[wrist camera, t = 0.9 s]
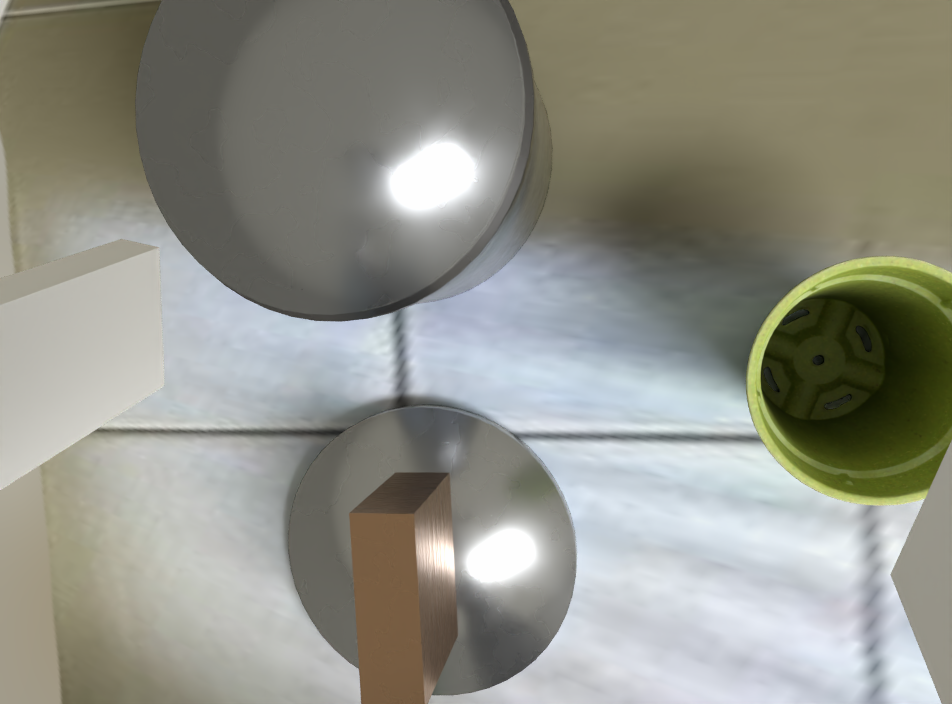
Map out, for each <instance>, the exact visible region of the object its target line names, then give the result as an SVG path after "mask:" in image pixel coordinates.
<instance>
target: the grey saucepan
mask: <svg viewBox="0 0 952 704" xmlns="http://www.w3.org/2000/svg"><path fill="white" fill-rule="evenodd" d="M135 106H136V130H137V137H138V144H139V151H140V156H141V160H142V163H143V167H144V171H145V175H146V178H147V181H148V183H149V186H150V188H151V191H152V194H153V196H154V199H155V201H156V203H157V205H158V207H159V209H160V211H161V213H162V214H163V216H164V218H165V220H166V222H167V224H168V225H169V227H170V228H171V229H172V231H173V232H174V234H175V235H176V237H177V238H178V239H179V241H180V242H181V244H182V245H183V246H184V247H185V248H186V249H187V250H188V252H189V253H190V254H191V255H192V256H193V257H194V258H195V259H196V260H197V261H198V262H199V263H200V264H201V265H202V266H203V267H204V268H205V269H206V270H207V271H209V272H210V273H211V274H212V275H213V276H215V277H216V278H217V279H218V280H219V281H220V282H222V283H223V284H224V285H225V286H227V287H228V288H230V289H231V290H233V291H235V292H236V293H238V294H239V295H241V296H242V297H244V298H245V299H247V300H250V301H252V302H254V303H256V304H258V305H260V306H262V307H264V308H267V309H269V310H272V311H275V312H279V313H282V314H285V315H288V316H291V317H297V318H303V319H309V320H315V321H350V320H359V319H367V318H373V317H377V316H381V315H385V314H389V313H393V312H397V311H399V310H402V309H404V308H407V307H409V306H412V305H414V304H419V303H426V302H433V301H438V300H442V299H446V298H450V297H453V296H456V295H458V294H461V293H463V292H466V291H468V290H470V289H472V288H474V287H476V286H478V285H479V284H481V283H483V282H485V281H486V280H488V279H489V278H490V277H492V276H493V275H494V274H495V273H497V272H498V271H499V270H501V269H502V268H503V267H504V266H505V265H506V264H507V263H508V262H509V261H510V260H511V259H512V258H513V257H514V256H515V255H516V253H517V252H518V251H519V249H520V248H521V247H522V246H523V244H524V243H525V242H526V240H527V239H528V237H529V235H530V233H531V232H532V230H533V228H534V227H535V225H536V223H537V221H538V218H539V216H540V214H541V211H542V209H543V207H544V203H545V200H546V196H547V193H548V189H549V184H550V178H551V171H552V149H553V148H552V139H551V129H550V125H549V120H548V116H547V112H546V108H545V106H544V103H543V100H542V98H541V95H540V93H539V90H538V88H537V85H536V83H535V81H534V76H533V70H532V65H531V61H530V57H529V53H528V48H527V44H526V42H525V39H524V36H523V34H522V31H521V28H520V26H519V23H518V20H517V18H516V15H515V13H514V10H513V8H512V7H511V5H510V3H509V1H508V0H162V1H161V4H160V6H159V8H158V10H157V12H156V14H155V17H154V19H153V21H152V23H151V26H150V29H149V32H148V35H147V38H146V41H145V44H144V47H143V51H142V56H141V61H140V66H139V71H138V76H137V88H136V100H135Z"/></svg>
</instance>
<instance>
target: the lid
mask: <svg viewBox="0 0 952 704" xmlns="http://www.w3.org/2000/svg"><path fill="white" fill-rule="evenodd" d="M288 547H289V558H290V565H291V571H292V575H293V578H294V582H295V586H296V589H297V591H298V594H299V596H300V599H301V601H302V604H303V606H304V608H305V609H306V611H307V613H308V615H309V617H310V619H311V620H312V622H313V623H314V625H315V626H316V628H317V629H318V630H319V632H320V633H321V635H322V636H323V637H324V638H325V639H326V640H327V642H328V643H329V644H330V645H331V646H332V647H333V648H334V649H335V650H336V651H337V652H338V653H339V654H340V655H341V656H343V657H344V658H345V659H346V660H347V661H348V662H349V663H351V664H352V665H354V666H355V667H357V668H358V669H359V673H360V689H361V704H428V702H429V700H430V697H431V695H458V694H465V693H472V692H476V691H479V690H483V689H487V688H490V687H492V686H495V685H497V684H499V683H502V682H504V681H506V680H508V679H509V678H511V677H513V676H514V675H516V674H518V673H519V672H521V671H522V670H523V669H525V668H526V667H527V666H528V665H530V664H531V663H532V662H533V661H534V660H536V659H537V657H538V656H539V655H540V654H541V653H542V652H543V651H544V650H545V649H546V648H547V646H548V645H549V644H550V642H551V641H552V639H553V638H554V636H555V635H556V633H557V632H558V630H559V628H560V626H561V624H562V622H563V620H564V618H565V616H566V614H567V611H568V608H569V604H570V601H571V598H572V594H573V589H574V583H575V577H576V568H577V546H576V536H575V530H574V526H573V522H572V517H571V513H570V511H569V508H568V506H567V503H566V500H565V498H564V495H563V493H562V491H561V490H560V488H559V486H558V484H557V482H556V480H555V478H554V477H553V475H552V474H551V473H550V471H549V470H548V469H547V467H546V466H545V464H544V463H543V462H542V460H541V459H540V458H539V457H538V456H537V455H536V454H535V453H534V452H533V451H532V450H531V449H530V448H529V447H528V446H527V445H526V444H525V443H524V442H522V441H521V440H520V439H519V438H518V437H516V436H515V435H514V434H513V433H511V432H509V431H508V430H506V429H505V428H503V427H502V426H500V425H498V424H497V423H495V422H493V421H490V420H488V419H486V418H484V417H482V416H480V415H477V414H474V413H471V412H468V411H465V410H462V409H457V408H451V407H446V406H437V405H415V406H404V407H399V408H395V409H390V410H386V411H384V412H381V413H378V414H376V415H373V416H370V417H368V418H366V419H365V420H363V421H361V422H359V423H357V424H355V425H353V426H352V427H350V428H348V429H347V430H345V431H344V432H343V433H341V434H340V435H339V436H337V437H336V438H335V439H333V440H332V441H331V442H330V443H329V444H328V445H327V446H326V447H325V448H324V449H323V450H322V451H321V452H320V454H319V455H318V456H317V458H316V459H315V460H314V461H313V463H312V464H311V465H310V467H309V469H308V471H307V472H306V474H305V476H304V478H303V479H302V481H301V484H300V486H299V489H298V491H297V493H296V496H295V499H294V503H293V507H292V511H291V515H290V523H289V532H288Z"/></svg>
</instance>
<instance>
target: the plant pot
mask: <svg viewBox="0 0 952 704" xmlns="http://www.w3.org/2000/svg"><path fill="white" fill-rule="evenodd" d="M802 309H804V310H808V311H809V314H808V315H805V316H802V317H800V318H797V319H795V320H793V321H791V322H790V323H788V324H786V325H783V324H782V323H783V319H784V318H786V317H787V316H789V315H790V314H793V313H794V312H796V311H798V310H802ZM856 326H861V327H863V328H864V329H865V330H866V331H867V333H868V336H869V338H870V340H871V344H872V349H871V351H870V352H867V351H865V348H864V345H863V342H862V339H861V337H860V336H859V334H858V333H857V332H856V330H855V329H856ZM817 355H822V356H823V357H824V363H823V364H820V365H815V364H814V363H813V358H814V357H815V356H817ZM766 367H769V368H770V369H771V373H772V376H773V379H774V381H775V383H776V384H777V387H778V388H779V389H780V391H779V392H777V391H774V390H773V389H772V388H771V387H770V386H769V384H768V383H767V381H766V379H765V376H764V368H766ZM746 394H747V401H748V407H749V411H750V414H751V417H752V421H753V423H754V426H755V428H756V430H757V432H758V434H759V436H760V438H761V440H762V442H763V443H764V445H765V446H766V448H767V449H768V451H769V452H770V453H771V455H772V456H773V457H774V458H775V459H776V461H777V462H778V463H779V464H780V465H781V466H782V467H783V468H784V469H785V470H786V471H788V472H789V473H790V474H791V475H792V476H794V477H795V478H796V479H798V480H799V481H800V482H802V483H803V484H805V485H807V486H809V487H810V488H812V489H814V490H815V491H818V492H820V493H822V494H825V495H827V496H829V497H832V498H835V499H839V500H842V501H846V502H850V503H856V504H864V505H898V504H905V503H910V502H915V501H919V500H922V499H925V498H926V496H927V493H928V491H929V489H930V487H931V485H932V482H933V480H934V478H935V476H936V473H937V471H938V469H939V467H940V465H941V462H942V460H943V458H944V456H945V454H946V451H947V449H948V447H949V445H950V443H951V440H952V273H951V272H949V271H947V270H945V269H943V268H940V267H938V266H935V265H933V264H930V263H927V262H924V261H920V260H916V259H911V258H906V257H897V256H872V257H864V258H858V259H853V260H848V261H845V262H842V263H839V264H836V265H833V266H830V267H828V268H825V269H823V270H821V271H819V272H817V273H815V274H813V275H812V276H810V277H808V278H807V279H805V280H804V281H802V282H801V283H799V284H798V285H797V286H795V287H794V288H793V289H792V290H790V291H789V292H788V293H787V294H786V295H785V296H784V297H783V298H782V299H781V300H780V301H779V302H778V303H777V304H776V306H775V307H774V308H773V309H772V310H771V312H770V313H769V315H768V316H767V318H766V319H765V321H764V322H763V324H762V326H761V327H760V329H759V331H758V333H757V335H756V338H755V340H754V342H753V345H752V348H751V351H750V355H749V359H748V364H747V371H746ZM847 394H851V395H852V399H851V400H850V401H849V402H846V403H844V404H842V405H841V406H840V407H838V408H835V409H829V410H827V409H826V408H825V407H824V406H825V404H826V403H830V402H832V401H835V400H838V399H840V398H842V397H845V396H846V395H847Z"/></svg>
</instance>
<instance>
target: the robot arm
mask: <svg viewBox="0 0 952 704" xmlns="http://www.w3.org/2000/svg"><path fill="white" fill-rule="evenodd" d="M164 386H165V383H164V358H163V332H162V307H161V282H160V257H159V247H155V246H150V245H146V244H141V243H137V242H132V241H128V240H123V239H120V240H117V241H114V242H111V243H108V244H105V245H102V246H99V247H95V248H92V249H89V250H86V251H83V252H80V253H77V254H74V255H71V256H68V257H65V258H62V259H59V260H55V261H52V262H49V263H46V264H43V265H40V266H37V267H34V268H31V269H28V270H25V271H22V272H18V273H15V274H12V275H9V276H6V277H3V278H0V490H1V489H3V488H5V487H6V486H8V485H9V484H11V483H12V482H14V481H16V480H17V479H19V478H20V477H22V476H23V475H25V474H27V473H28V472H30V471H31V470H33V469H34V468H36V467H38V466H39V465H41V464H42V463H44V462H46V461H47V460H49V459H50V458H52V457H53V456H55V455H57V454H58V453H60V452H61V451H63V450H65V449H66V448H68V447H69V446H71V445H72V444H74V443H76V442H77V441H79V440H80V439H82V438H83V437H85V436H87V435H88V434H90V433H91V432H93V431H94V430H96V429H98V428H99V427H101V426H102V425H104V424H106V423H107V422H109V421H110V420H112V419H113V418H115V417H117V416H118V415H120V414H121V413H123V412H124V411H126V410H128V409H129V408H131V407H132V406H134V405H135V404H137V403H139V402H140V401H142V400H143V399H145V398H147V397H148V396H150V395H151V394H153V393H154V392H156V391H158V390H159V389H161V388H162V387H164ZM891 577H892V579H893V582H894V585H895V587H896V590H897V592H898V595H899V597H900V600H901V602H902V605H903V607H904V610H905V612H906V615H907V617H908V620H909V622H910V625H911V627H912V630H913V632H914V635H915V637H916V640H917V642H918V645H919V647H920V650H921V652H922V655H923V657H924V660H925V663H926V665H927V668H928V670H929V673H930V675H931V678H932V680H933V683H934V685H935V688H936V690H937V693H938V695H939V698H940V700H941V703H942V704H952V440H951V443H950V445H949V447H948V449H947V451H946V454H945V456H944V458H943V460H942V462H941V465H940V467H939V469H938V471H937V473H936V476H935V478H934V480H933V482H932V485H931V487H930V489H929V491H928V493H927V496H926V498H925V500H924V502H923V504H922V507H921V509H920V511H919V513H918V515H917V518H916V520H915V522H914V524H913V526H912V529H911V531H910V533H909V535H908V537H907V540H906V542H905V544H904V546H903V548H902V551H901V553H900V555H899V557H898V559H897V562H896V564H895V566H894V568H893V570H892V573H891Z"/></svg>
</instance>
